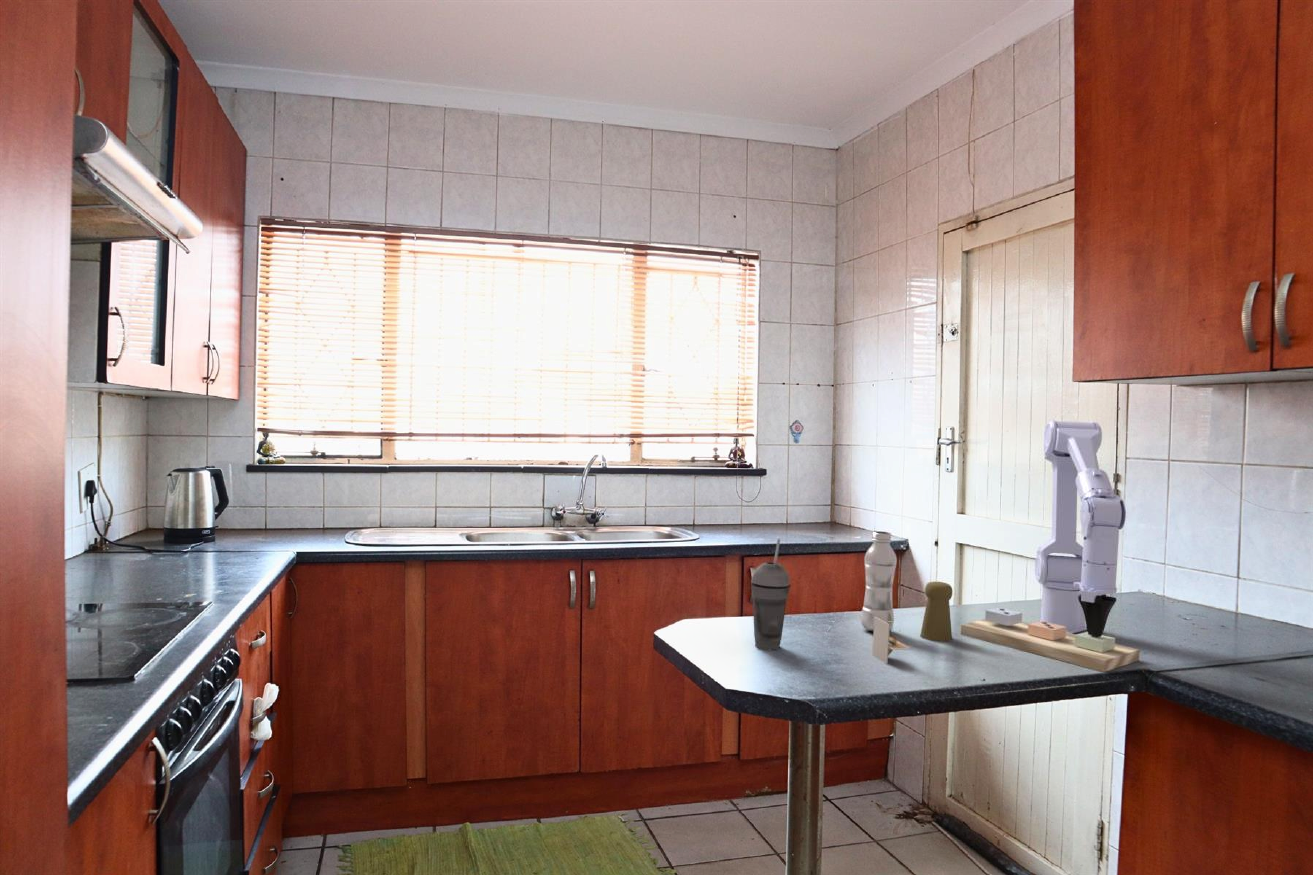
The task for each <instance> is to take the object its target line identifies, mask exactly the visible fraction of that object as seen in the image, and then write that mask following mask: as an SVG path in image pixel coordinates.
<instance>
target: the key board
mask: <svg viewBox="0 0 1313 875" xmlns="http://www.w3.org/2000/svg"><path fill="white" fill-rule="evenodd" d="M1028 624H1030V622H1029V623H1028V622H1024V621H1022V623H1018V624H1014V625H1010V626H1007V625H1003V624H999V623H995V622H991V621H987V620H985V618H984V619H980V620H976V621H971V622H966V623H962V624H961V625H960V635H962V636H966V637H970V638H975V639H978V640H982V641H985V642H990V643H994V644H997V645H999V646H1000V645H1001V646H1005V647H1008V648H1012V649H1014V650H1019V651H1024V652H1026V653H1031V654H1034V655H1038V656H1042V657H1047V658H1049V659H1053V660H1057V661H1060V662H1066V663H1068V664H1073V665H1077V666H1080V667H1084V668H1088V669H1090V670H1095V671H1097V672H1098V671H1099V672H1102V673H1106V672H1108V671H1112V670H1114V669H1117V668H1122V667H1123V666H1126V665H1129V664H1132V663H1135V662H1139V661H1140V652H1141V649H1138V648H1134V647H1130V646H1125V645H1121V644H1117V643H1115V649H1112V650H1109V651H1106V652H1102V653H1101V652H1097V651H1093V650H1089V649H1085V648H1081V647H1077V646H1074V641H1075V635H1076V634H1075V633H1073V634H1071V633H1067V632H1066V637H1065V638H1061V639H1057V640H1049V639H1045V638H1041V637H1037V636H1033V635H1029V634H1028Z"/></svg>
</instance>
